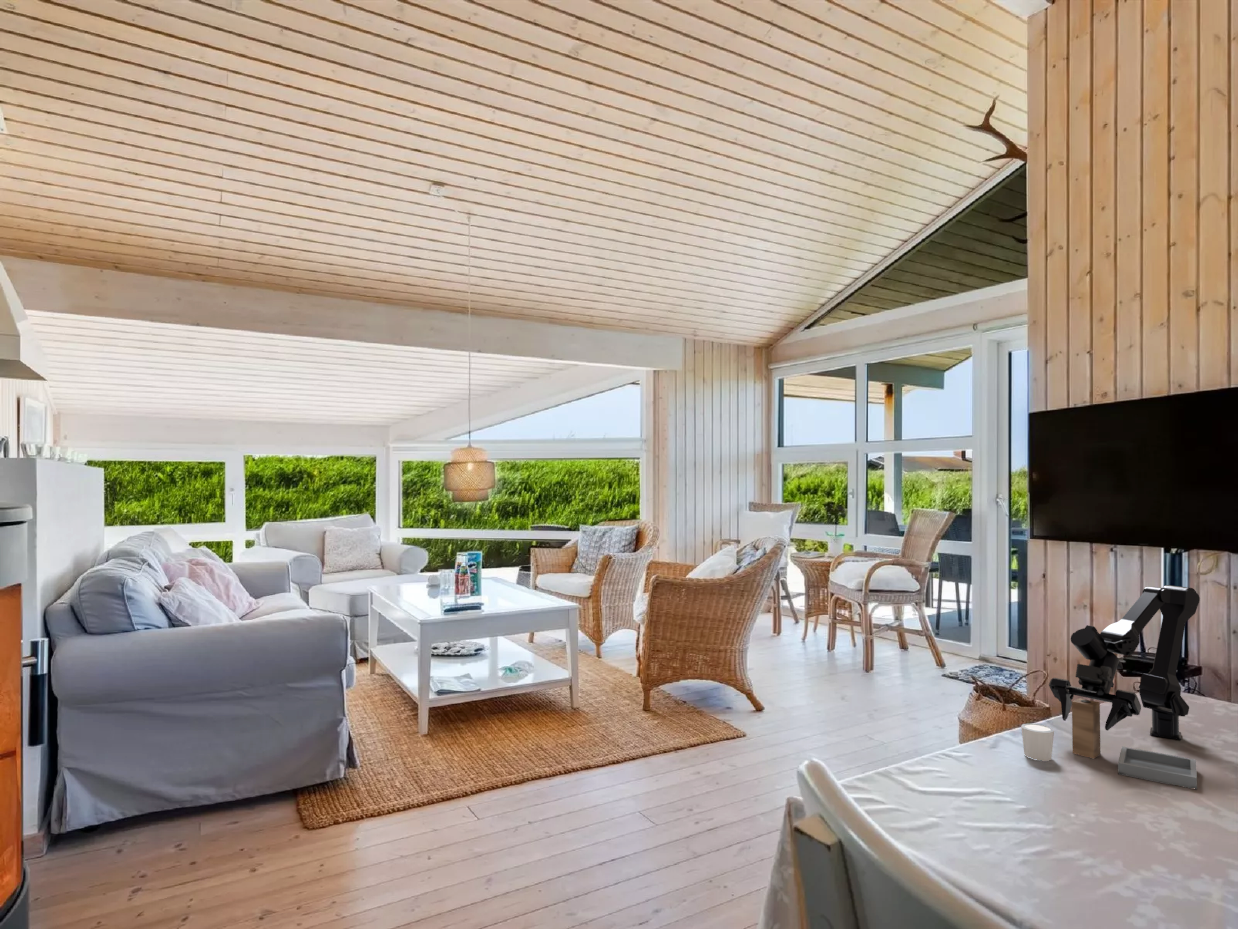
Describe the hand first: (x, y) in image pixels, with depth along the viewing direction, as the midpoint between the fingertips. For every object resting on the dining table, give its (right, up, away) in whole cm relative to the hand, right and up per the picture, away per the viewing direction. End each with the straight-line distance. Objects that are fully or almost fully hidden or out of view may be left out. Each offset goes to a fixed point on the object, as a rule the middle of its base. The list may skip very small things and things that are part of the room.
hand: (1084, 724), depth 180 cm
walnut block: (+1, -7, 0) cm, 7 cm away
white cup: (-13, -7, -2) cm, 15 cm away
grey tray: (+9, -7, -11) cm, 16 cm away
